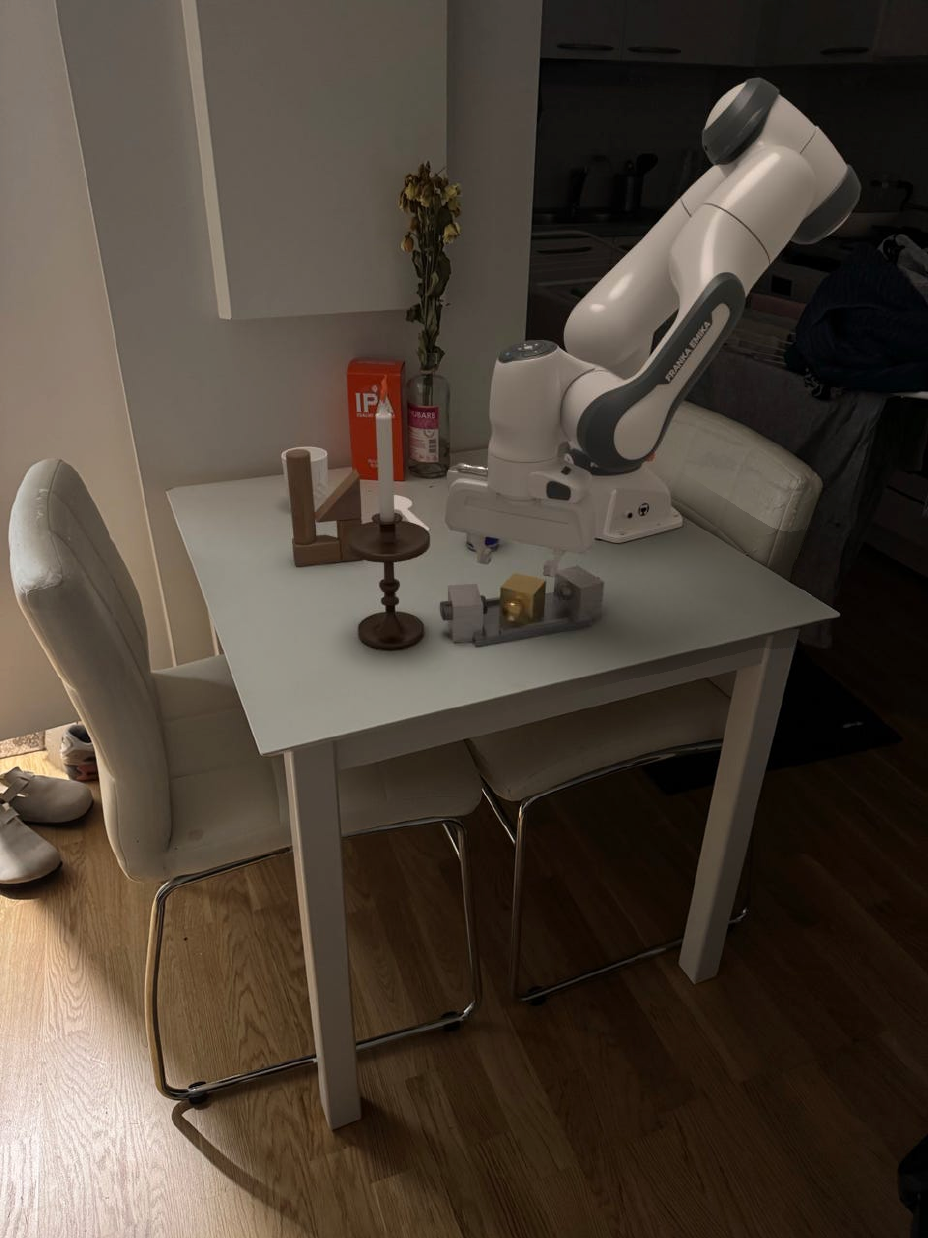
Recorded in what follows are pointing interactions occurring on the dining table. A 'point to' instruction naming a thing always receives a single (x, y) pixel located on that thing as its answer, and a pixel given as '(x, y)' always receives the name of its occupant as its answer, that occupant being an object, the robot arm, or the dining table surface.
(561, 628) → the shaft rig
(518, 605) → the block
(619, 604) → the dining table surface
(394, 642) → the candlestick
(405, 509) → the spoon
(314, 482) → the white cup
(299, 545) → the wooden toy blocks
